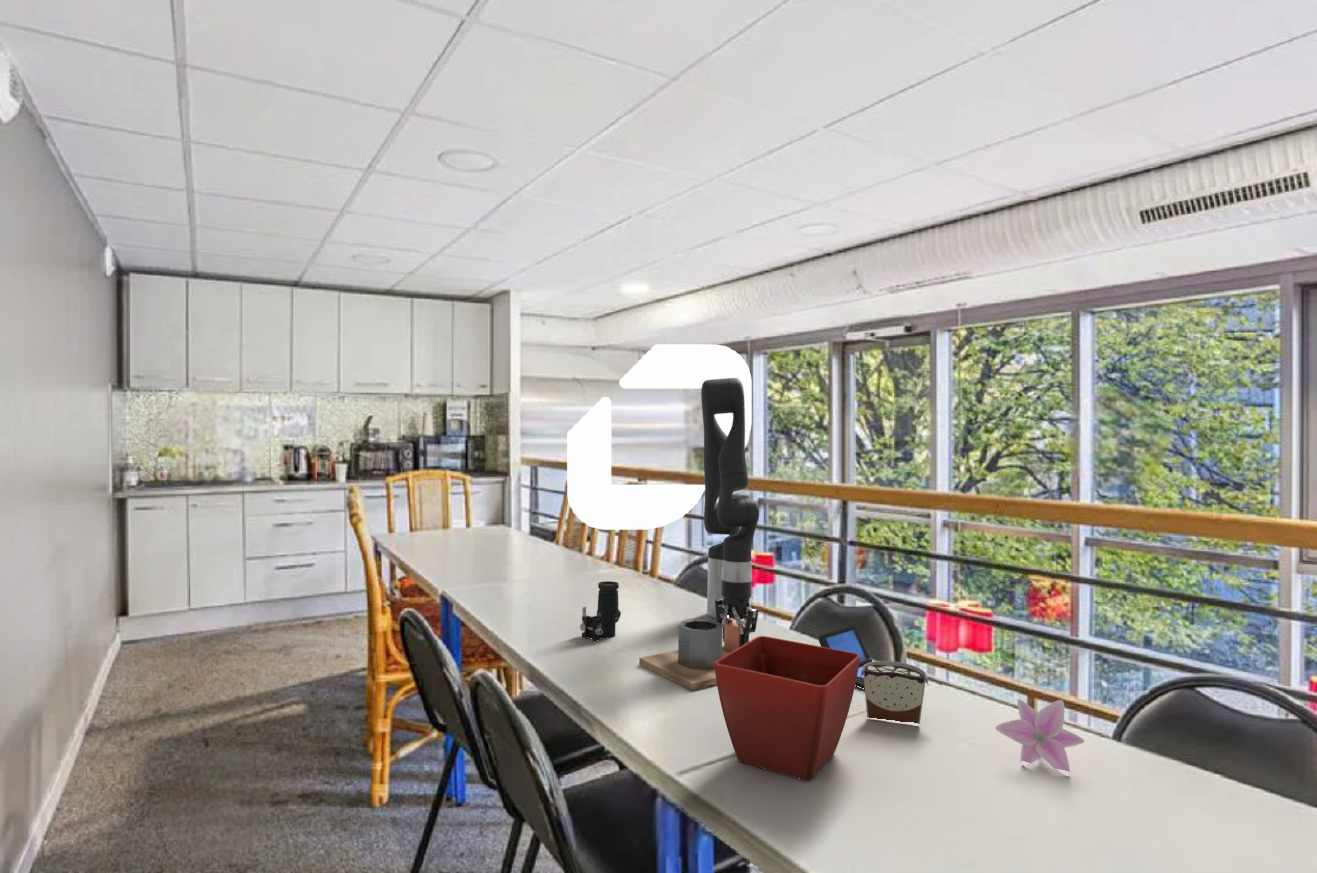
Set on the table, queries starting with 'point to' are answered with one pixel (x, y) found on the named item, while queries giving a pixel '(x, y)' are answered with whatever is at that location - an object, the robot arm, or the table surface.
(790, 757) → the plant pot
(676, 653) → the walnut board
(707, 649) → the grey octagonal cup
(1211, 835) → the table surface
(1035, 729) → the lily
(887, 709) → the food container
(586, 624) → the scope
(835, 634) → the handheld game console
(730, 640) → the salmon pink rounded cylinder
